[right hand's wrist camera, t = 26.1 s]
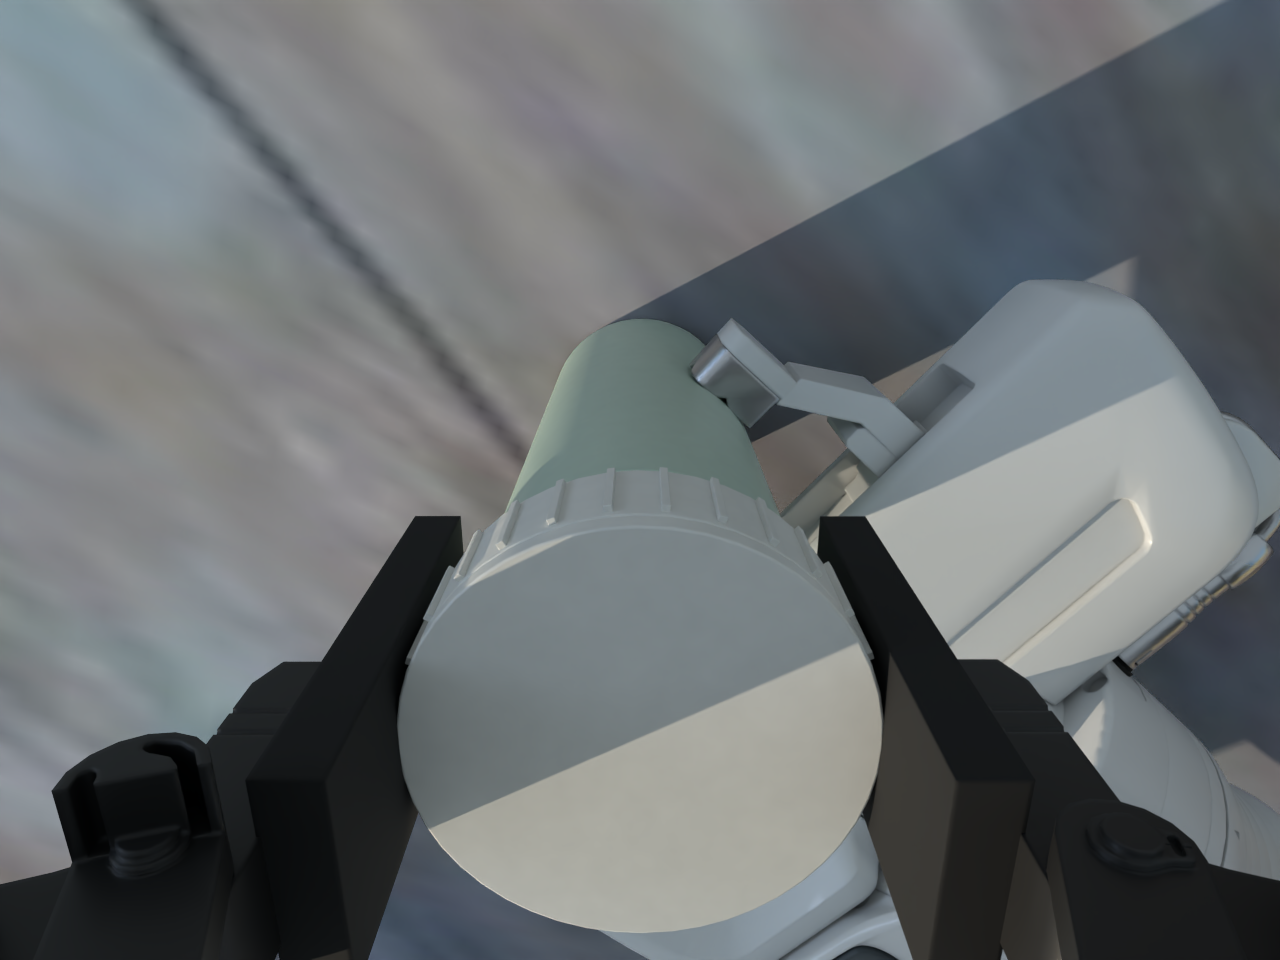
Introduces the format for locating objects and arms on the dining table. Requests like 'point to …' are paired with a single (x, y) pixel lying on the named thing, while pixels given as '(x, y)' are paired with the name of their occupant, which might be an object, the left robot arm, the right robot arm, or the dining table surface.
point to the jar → (638, 415)
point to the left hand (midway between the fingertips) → (612, 450)
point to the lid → (640, 705)
